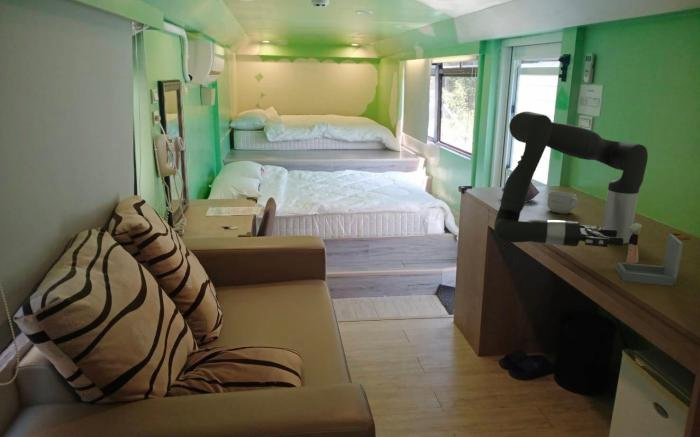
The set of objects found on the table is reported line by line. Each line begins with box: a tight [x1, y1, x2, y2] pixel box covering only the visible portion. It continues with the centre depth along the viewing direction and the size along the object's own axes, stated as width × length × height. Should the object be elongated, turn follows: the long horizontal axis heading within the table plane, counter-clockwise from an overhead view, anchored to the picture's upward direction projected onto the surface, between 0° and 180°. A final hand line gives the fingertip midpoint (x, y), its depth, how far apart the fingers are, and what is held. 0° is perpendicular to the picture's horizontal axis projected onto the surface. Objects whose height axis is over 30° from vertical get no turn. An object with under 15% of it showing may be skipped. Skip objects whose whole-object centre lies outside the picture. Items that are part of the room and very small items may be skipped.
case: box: [615, 233, 684, 287], centre depth 146 cm, size 9×13×12 cm
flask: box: [501, 155, 541, 202], centre depth 236 cm, size 16×16×20 cm
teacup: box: [547, 191, 580, 214], centre depth 216 cm, size 14×11×8 cm
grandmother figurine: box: [624, 222, 643, 264], centre depth 156 cm, size 8×4×13 cm, turn 157°
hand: (619, 237), depth 157 cm, fingers open, 8 cm apart
